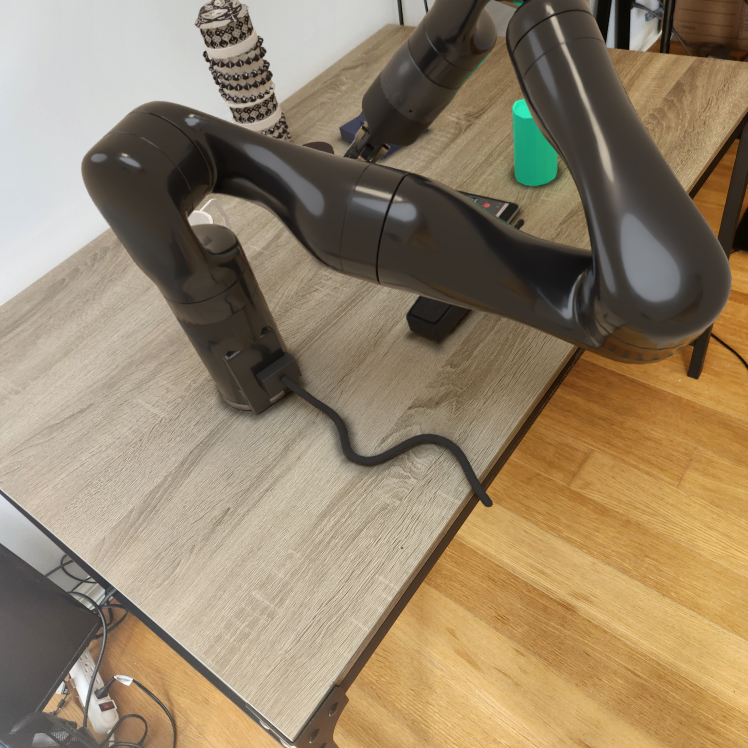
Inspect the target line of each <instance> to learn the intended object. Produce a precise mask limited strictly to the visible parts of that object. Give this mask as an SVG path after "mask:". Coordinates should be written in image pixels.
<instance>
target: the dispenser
mask: <svg viewBox="0 0 748 748" xmlns="http://www.w3.org/2000/svg"><path fill="white" fill-rule="evenodd" d="M364 121H365V118H364V115H363V111H362V110H361V112H360V113H359V114H358V116H356V117H354V118H353V119H351V120H349V121H347V122H346V123H344V124H343V125H341V126H339V127H338V128H339V132H340V137H341V140H343V141H345V142H347V143H348V144H350V145H351V144H352V142H353V141H354V140H355V135H356V133H357V132H358V130H359V129H360V128H361V126H362V125H363V124H365V123H364ZM428 129H429V127H428V128H427V129H426V131H425V132H424V133H423V134H422V135H424V134H426V133H427V132H429V130H428ZM387 145H389V146H390V148H389V150H388V151H387V153H386V154H385V155H384V157H383V158H381V159H380V160H383V159H385V158H387V157H388V156H391V155H392V154H394V153H395V152H396V151H399V150H400V149H401V148H404V146H396V145H392V144H387Z"/></svg>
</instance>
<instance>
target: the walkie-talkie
mask: <svg viewBox="0 0 748 748" xmlns="http://www.w3.org/2000/svg"><path fill="white" fill-rule="evenodd" d="M524 224H525V219H523V218H519V220H518V221H517V222H516V224H514V225H513V227H515V228H517V229H519V230H521V229H522V227H523V226H524ZM468 311H469V309H468V308H464V307H460V306H456V305H452V304H448V303H445V302H441V301H438V300H434V299H430V298H427V297H423V296H420V295H418V297H417V298H416V300H415V302H414V303H412V305H411V307H410V308H409V310H408V311H407V312H406V313H405V319H406V322H407V325H408V328H409V331H410V332H412V333H414V334H416V335H419V336H421V337H423V338H425V339H427V340H430V341H432V342H434V343H436V344H441V343H442V342H443V341H444V339H445V338H447V336H448V335H449V333H451V331H452V330H453V329H454V328H455V326H456V325H457V324H458V323H459V322H460V321H461V320H462V318H463V317H464V316H465V314H466V313H467V312H468Z"/></svg>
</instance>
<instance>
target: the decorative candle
mask: <svg viewBox="0 0 748 748" xmlns="http://www.w3.org/2000/svg"><path fill="white" fill-rule="evenodd" d="M194 26H195V27H196V28H197V29H199V32H200V35H201V37H202V39H203V42H204V43H203V47H204V51H203V52H202V57H203V58H204V61H205V62H206V63H209V66H208V71H210V74H211V75H212V79H213V80H214V84H215V85H217V86H218V93H219V94H220V97H221V98H222V101H223V103H224V104H225V106H226V107H228V108H229V111H230V113H231V116H232V118H231V119H232V123H234V124H236V125H239V126H242V127H244V128H247V129H250V130H253V131H255V132H258V133H261V134H264V135H267V136H270V137H273V138H277V139H280V140H284V141H288V142H291V143H293V139H292V137H293V136H292V134H291V132H290V130H288V128H289V125H288V124H287V121H286V115H285V113H284V112H283V111H282V109H281V105H280V103H279V102H278V100H277V96H276V93H275V90H276V84H275V82H274V81H273V80H272V78H273V76H274V74H273V73H272V71H271V70H270V67H271V63H270V61H268V60H267V59H264V58H265V56H266V54H267V53H268V51H267V49H266V48H265V46H263V43H264V38H263V37H262V36H260V35H258V34H257V31H256V28H255V27H254V26H253V22H252V18H251V16H250V12H249V6H248V5H247V4H245V3H242V2H240V1H239V0H210V1H208V2H206V3H204V4H203V5H202V6H201V7H199V11H198V15H197V18H196V19H195V20H194Z"/></svg>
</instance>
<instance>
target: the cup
mask: <svg viewBox="0 0 748 748" xmlns="http://www.w3.org/2000/svg"><path fill="white" fill-rule="evenodd" d="M212 207H214V209H215V211H216V212H217V213H218V215H219V216H220V218H221V220H222V223H223V226H225V227H227V228H229V229H230V230H231V231H233V230H232V226H231V223H230V220H229V215H228V214H227V213H226V211H225V210H224V208H223V206H222V205H221V203H220V202H219V200H218V198H211V199H209V200H208V201H207V202H206V203H205V204H204V205H203V206H202V207H201V209H200V210H197V209H195V210H194V211H193V213H192V214H191V215H190V216H189V217H188V221H189V223H190V225H191V226H192V225H197V224H216V223H215V221H214V219H213V217H212V216H211V215H210V213H209V212H210V210H211V208H212Z"/></svg>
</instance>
